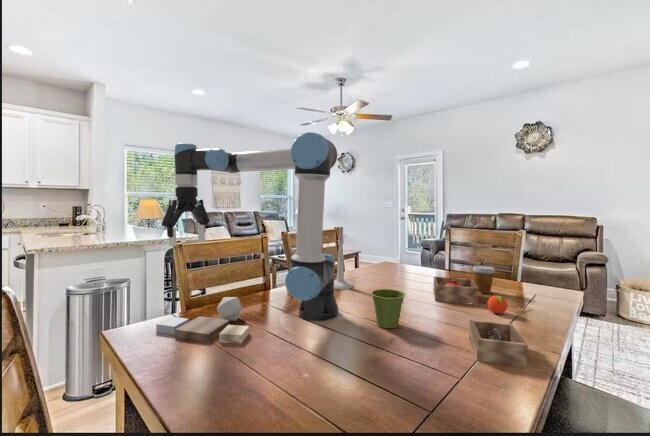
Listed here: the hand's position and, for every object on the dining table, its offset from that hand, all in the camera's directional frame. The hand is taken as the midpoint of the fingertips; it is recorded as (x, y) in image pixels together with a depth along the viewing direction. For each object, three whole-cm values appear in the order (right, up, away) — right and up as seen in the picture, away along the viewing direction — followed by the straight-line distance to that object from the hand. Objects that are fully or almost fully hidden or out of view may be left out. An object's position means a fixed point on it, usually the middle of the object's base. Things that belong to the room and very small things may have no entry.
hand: (187, 243), depth 123 cm
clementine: (+118, -28, +4) cm, 121 cm away
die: (+17, -27, -4) cm, 32 cm away
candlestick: (+59, -25, +42) cm, 76 cm away
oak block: (+23, -28, -20) cm, 41 cm away
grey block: (+1, -28, -14) cm, 31 cm away
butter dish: (+109, -27, +25) cm, 115 cm away
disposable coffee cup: (+126, -26, +33) cm, 133 cm away
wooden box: (+109, -26, +25) cm, 115 cm away
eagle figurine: (+101, -30, -27) cm, 109 cm away
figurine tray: (+101, -29, -27) cm, 108 cm away
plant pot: (+73, -28, -8) cm, 79 cm away
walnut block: (+12, -28, -16) cm, 34 cm away
